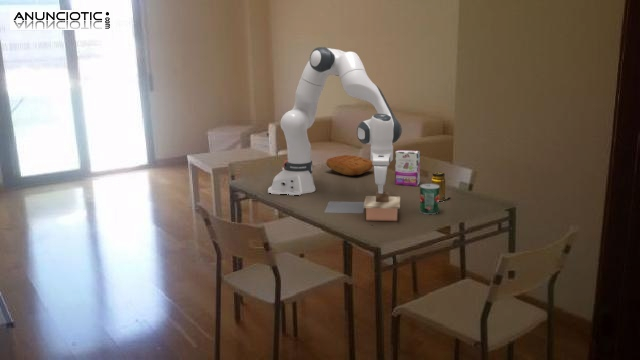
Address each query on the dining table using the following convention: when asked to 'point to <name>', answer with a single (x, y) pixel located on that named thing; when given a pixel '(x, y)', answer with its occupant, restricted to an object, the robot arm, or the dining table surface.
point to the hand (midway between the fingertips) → (381, 189)
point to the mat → (344, 207)
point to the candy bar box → (407, 168)
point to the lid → (382, 201)
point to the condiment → (439, 183)
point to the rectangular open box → (381, 214)
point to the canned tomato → (429, 198)
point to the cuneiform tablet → (349, 164)
